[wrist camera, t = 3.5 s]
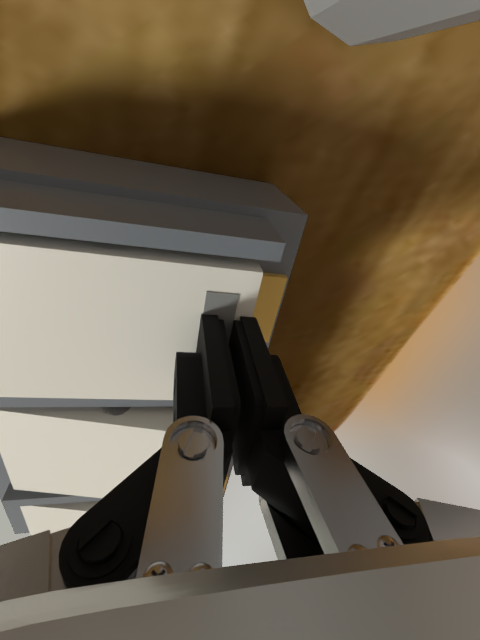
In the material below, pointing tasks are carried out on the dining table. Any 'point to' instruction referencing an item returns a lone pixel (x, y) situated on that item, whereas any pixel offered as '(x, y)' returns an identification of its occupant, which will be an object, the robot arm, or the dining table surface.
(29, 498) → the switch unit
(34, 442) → the panel
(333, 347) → the dining table surface
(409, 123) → the dining table surface
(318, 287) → the dining table surface
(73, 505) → the panel
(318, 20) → the water bottle
